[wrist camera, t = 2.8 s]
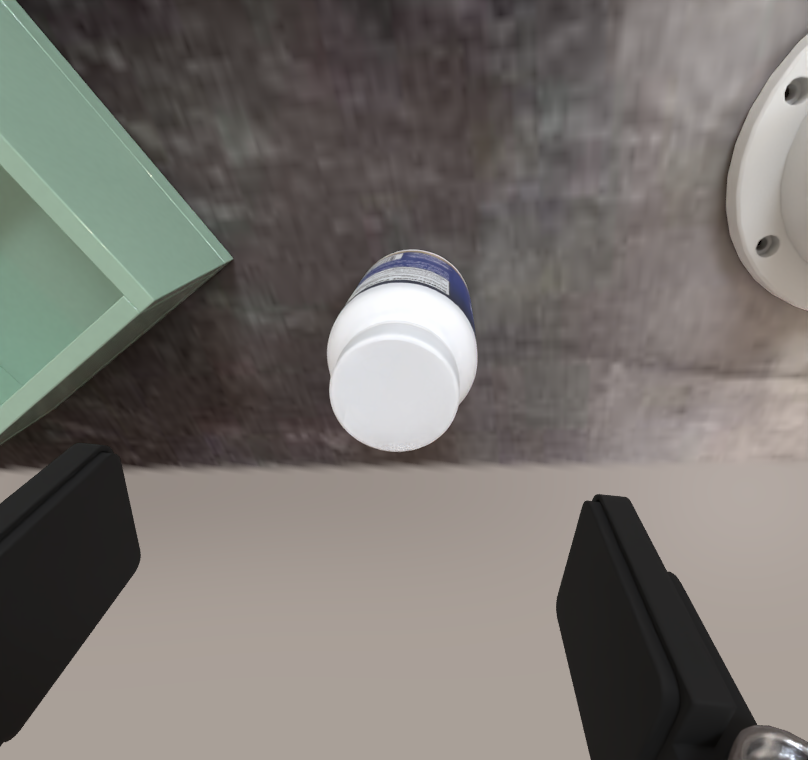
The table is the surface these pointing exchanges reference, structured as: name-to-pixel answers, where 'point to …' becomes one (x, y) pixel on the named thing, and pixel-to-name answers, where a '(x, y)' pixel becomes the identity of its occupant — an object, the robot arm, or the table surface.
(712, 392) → the table surface
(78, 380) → the green open box
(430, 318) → the pill bottle
